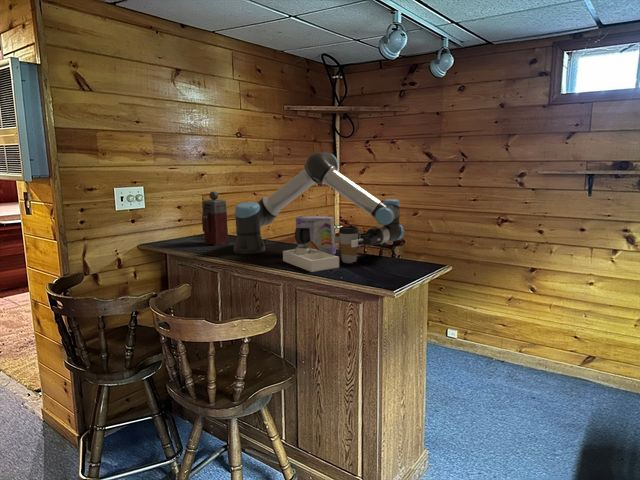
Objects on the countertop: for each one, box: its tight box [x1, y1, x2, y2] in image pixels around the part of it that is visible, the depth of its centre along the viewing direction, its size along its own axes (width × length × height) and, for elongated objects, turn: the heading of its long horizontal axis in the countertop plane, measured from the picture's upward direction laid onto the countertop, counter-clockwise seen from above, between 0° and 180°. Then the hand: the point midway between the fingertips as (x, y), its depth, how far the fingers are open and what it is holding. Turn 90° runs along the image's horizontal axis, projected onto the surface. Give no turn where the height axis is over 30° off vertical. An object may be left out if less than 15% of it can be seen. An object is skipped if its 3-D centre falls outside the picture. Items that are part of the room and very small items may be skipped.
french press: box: [201, 190, 229, 245], centre depth 253 cm, size 9×11×28 cm
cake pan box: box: [294, 215, 337, 255], centre depth 223 cm, size 19×5×18 cm, turn 65°
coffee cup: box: [338, 225, 360, 264], centre depth 205 cm, size 8×8×15 cm
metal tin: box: [294, 247, 311, 255], centre depth 208 cm, size 7×7×5 cm
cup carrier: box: [282, 248, 340, 273], centre depth 203 cm, size 25×13×4 cm, turn 31°
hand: (342, 242), depth 202 cm, fingers open, 11 cm apart
